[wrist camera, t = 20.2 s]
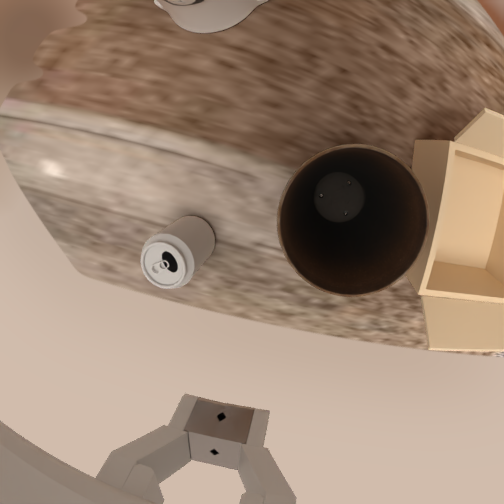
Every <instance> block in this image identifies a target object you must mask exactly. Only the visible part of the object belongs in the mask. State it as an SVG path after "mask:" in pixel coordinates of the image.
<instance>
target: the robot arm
mask: <svg viewBox="0 0 504 504" xmlns="http://www.w3.org/2000/svg"><path fill="white" fill-rule="evenodd" d="M267 1H269V0H154V3H155V4H156V5H157V6H158V7H159V8H161V9H163V10H165V11H167V12H168V13H169V15H170V16H171V18H172V19H173V21H174V22H175V23H176V24H177V25H179V26H180V27H182V28H183V29H185V30H188V31H191V32H196V33H212V32H217V31H221V30H224V29H227V28H230V27H232V26H234V25H236V24H237V23H239V22H240V21H242V20H243V19H244V18H246V17H247V16H248V15H249V14H250V13H251V12H252V11H253V9H254V8H256V7H257V6H258V5H260V4H262V3H264V2H267ZM269 413H270V411H269V410H262V409H256V408H251V407H245V406H239V405H234V404H228V403H227V404H226V403H221V402H217V401H213V400H209V399H205V398H201V397H196V396H193V395H189V394H185V395H184V396H183V397H182V399H181V401H180V403H179V405H178V407H177V409H176V411H175V413H174V415H173V417H172V419H171V421H170V423H169V425H168V426H165V425H163V426H161V427H159V428H158V429H156V430H154V431H152V432H150V433H148V434H146V435H144V436H142V437H141V438H138V439H136V440H134V441H132V442H130V443H128V444H126V445H124V446H122V447H120V448H118V449H116V450H114V451H112V452H111V453H110V455H109V457H108V458H107V460H106V462H105V463H104V465H103V467H102V468H101V470H100V472H99V473H98V475H97V476H96V478H94V477H91V476H89V475H87V474H85V473H83V472H81V471H80V470H78V469H76V468H74V467H72V466H70V465H68V464H66V463H64V462H63V461H61V460H59V459H57V458H56V457H54V456H52V455H50V454H49V453H47V452H45V451H44V450H42V449H41V448H39V447H37V446H35V445H34V444H33V443H31V442H30V441H28V440H26V439H25V438H24V437H22V436H21V435H19V434H17V433H16V432H15V431H13V430H12V429H11V428H9V427H8V426H6V425H5V424H4V423H2V422H1V421H0V504H163V502H164V498H163V496H162V493H161V490H160V487H159V483H161V482H162V481H164V480H165V479H166V478H168V477H169V476H171V475H172V474H173V473H175V472H176V471H177V470H179V469H180V468H182V467H183V466H185V465H186V464H187V463H188V462H190V461H191V460H195V461H200V462H204V463H209V464H213V465H218V466H222V467H226V468H230V469H235V470H238V472H239V475H240V477H241V480H242V482H243V484H244V487H245V489H246V493H244V494H242V496H241V500H240V504H296V496H295V495H294V493H293V491H292V490H291V488H290V487H289V485H288V483H287V481H286V480H285V478H284V476H283V475H282V473H281V471H280V470H279V468H278V466H277V464H276V462H275V461H274V459H273V457H272V455H271V454H270V452H269V450H268V448H264V447H263V445H264V440H265V435H266V430H267V424H268V419H269Z"/></svg>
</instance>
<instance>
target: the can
mask: <svg viewBox="0 0 504 504" xmlns="http://www.w3.org/2000/svg"><path fill="white" fill-rule="evenodd" d="M214 246H215V236H214V233H213V230H212V229H211V227H210V226H209V224H208V223H207V222H205V221H204V220H203V219H201V218H199V217H196V216H185V217H181V218H179V219H178V220H176V221H175V222H173V223H172V224H170V225H169V226H167V227H165V228H164V229H162V230H161V231H159V232H158V233H156V234H155V235H153V236H152V237H151V238H150V239H148V240H147V241H146V243H145V245H144V246H143V250H142V254H141V260H140V261H141V268H142V270H143V273H144V275H145V276H146V278H147V279H148V280H149V281H150V282H151V283H153V284H154V285H155V286H158V287H160V288H165V289H170V288H178V287H182V286H183V285H185V284H186V283H188V282H189V280H190V279H191V278H192V277H193V276H194V274H195V273H196V272H197V271H198V269H199V268H200V267H201V266H202V265H203V263H204V262H205V261H206V260H207V259H208V257H209V256H210V255H211V253H212V252H213V250H214Z"/></svg>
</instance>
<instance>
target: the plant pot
mask: <svg viewBox="0 0 504 504" xmlns="http://www.w3.org/2000/svg"><path fill="white" fill-rule="evenodd" d="M347 181H350V182H351V184H350V185H349V184H348V183H347ZM320 194H323V197H322V198H321V197H319V195H320ZM346 212H347V215H345V214H344V213H346ZM429 221H430V216H429V206H428V201H427V198H426V194H425V191H424V189H423V187H422V185H421V183H420V181H419V179H418V178H417V176H416V175H415V174H414V172H413V171H412V170H411V169H410V168H409V167H408V166H407V165H406V164H405V163H404V162H403V161H402V160H401V159H399V158H398V157H396V156H395V155H393V154H392V153H390V152H388V151H386V150H384V149H381V148H378V147H375V146H371V145H365V144H345V145H339V146H335V147H332V148H328V149H326V150H324V151H321V152H320V153H318V154H316V155H314V156H313V157H311V158H310V159H309V160H307V161H306V162H305V163H304V164H303V165H301V166H300V167H299V169H298V170H297V171H296V172H295V173H294V174H293V176H292V177H291V178H290V180H289V181H288V183H287V185H286V187H285V189H284V191H283V193H282V196H281V199H280V203H279V207H278V213H277V231H278V237H279V242H280V245H281V248H282V251H283V253H284V255H285V257H286V259H287V261H288V262H289V264H290V265H291V267H292V268H293V269H294V270H295V272H296V273H297V274H298V275H299V276H300V277H301V278H302V279H304V280H305V281H306V282H308V283H309V284H310V285H312V286H314V287H315V288H317V289H319V290H321V291H324V292H326V293H330V294H333V295H337V296H344V297H359V296H366V295H370V294H374V293H377V292H380V291H382V290H384V289H386V288H388V287H390V286H392V285H393V284H395V283H396V282H398V281H399V280H400V279H402V278H403V277H404V276H405V275H406V274H407V273H408V272H409V271H410V270H411V269H412V267H413V266H414V265H415V263H416V262H417V260H418V259H419V257H420V255H421V253H422V251H423V249H424V246H425V244H426V240H427V237H428V231H429Z"/></svg>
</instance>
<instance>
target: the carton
mask: <svg viewBox="0 0 504 504" xmlns="http://www.w3.org/2000/svg"><path fill="white" fill-rule="evenodd" d="M411 170H412V171H413V172H414V174H415V175H416V176H417V178H418V179H419V181H420V183H421V185H422V187H423V189H424V191H425V194H426V198H427V201H428V206H429V216H430V221H429V231H428V237H427V240H426V244H425V246H424V249H423V251H422V253H421V255H420V257H419V259H418V260H417V262H416V263H415V265H414V266H413V267H412V269H411V270H410V271H409V272H408V273H407V274H406V276H407V278H408V280H409V281H410V283H411V284H412V286H413V287H414V289H415V291H416V292H417V294H418V295H426V296H435V297H444V298H453V299H463V300H472V301H482V302H492V303H502V304H504V158H502V157H499V156H496V155H494V154H491V153H488V152H485V151H482V150H479V149H476V148H473V147H470V146H466V145H463V144H460V143H457V142H453V141H448V140H415V145H414V153H413V161H412V168H411Z"/></svg>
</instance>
